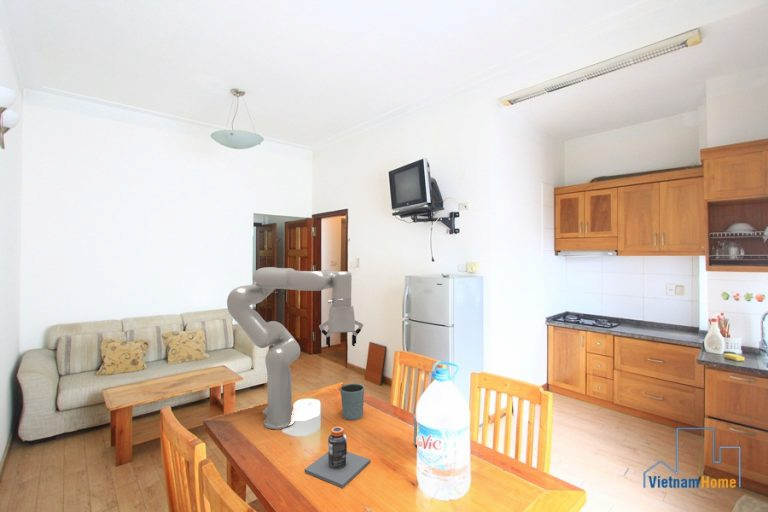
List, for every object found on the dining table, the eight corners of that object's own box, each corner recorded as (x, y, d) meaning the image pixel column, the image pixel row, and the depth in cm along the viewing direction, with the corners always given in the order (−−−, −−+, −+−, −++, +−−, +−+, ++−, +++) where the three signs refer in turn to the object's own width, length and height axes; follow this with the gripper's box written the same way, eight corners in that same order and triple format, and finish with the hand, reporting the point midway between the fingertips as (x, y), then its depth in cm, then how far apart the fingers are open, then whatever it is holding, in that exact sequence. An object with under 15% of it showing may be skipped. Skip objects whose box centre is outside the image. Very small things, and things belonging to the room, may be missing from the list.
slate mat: (304, 472, 112) (304, 469, 112) (334, 449, 125) (334, 446, 125) (342, 488, 104) (342, 484, 104) (370, 462, 117) (370, 459, 117)
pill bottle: (349, 460, 117) (349, 425, 117) (343, 470, 111) (343, 434, 111) (332, 457, 118) (332, 423, 118) (325, 467, 113) (325, 432, 113)
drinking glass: (363, 421, 146) (363, 392, 146) (338, 421, 147) (338, 391, 146) (364, 410, 157) (364, 383, 156) (342, 410, 157) (342, 383, 157)
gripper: (319, 304, 135) (319, 349, 135) (364, 303, 138) (364, 347, 139) (318, 301, 142) (318, 344, 142) (361, 301, 146) (361, 342, 146)
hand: (341, 346), depth 140 cm, fingers open, 9 cm apart
